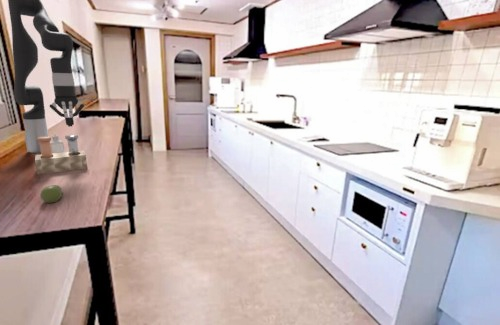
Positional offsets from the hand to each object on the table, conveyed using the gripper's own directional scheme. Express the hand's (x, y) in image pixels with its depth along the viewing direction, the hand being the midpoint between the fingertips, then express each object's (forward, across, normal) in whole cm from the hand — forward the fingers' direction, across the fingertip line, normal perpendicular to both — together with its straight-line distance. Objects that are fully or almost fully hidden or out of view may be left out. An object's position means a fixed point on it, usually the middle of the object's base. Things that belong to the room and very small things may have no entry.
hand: (70, 126), depth 123 cm
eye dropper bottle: (+18, +6, -21) cm, 28 cm away
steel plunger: (+14, 0, 0) cm, 14 cm away
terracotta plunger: (+14, +10, 0) cm, 17 cm away
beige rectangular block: (+18, +5, 0) cm, 19 cm away
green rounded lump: (+19, +9, +36) cm, 41 cm away
